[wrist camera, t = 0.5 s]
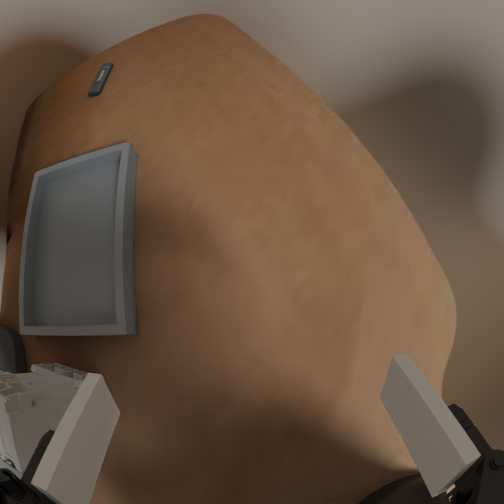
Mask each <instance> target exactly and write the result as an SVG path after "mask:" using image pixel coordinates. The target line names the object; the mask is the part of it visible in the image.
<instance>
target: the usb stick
mask: <svg viewBox="0 0 504 504" xmlns="http://www.w3.org/2000/svg"><path fill="white" fill-rule="evenodd" d="M112 67H113V64H112V63H106V64H104V65H102V67H101V69H100V71H99V73H98V75H97V77H96V79H95V81H94V83H93V85H92V87H91V89H90V91H89V93H88V96H89V97H94V96H97V95H99V94H100V93H101V91H102V89H103V86H104V84H105V82H106V80H107V78H108V76H109V74H110V71H111V69H112Z"/></svg>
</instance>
